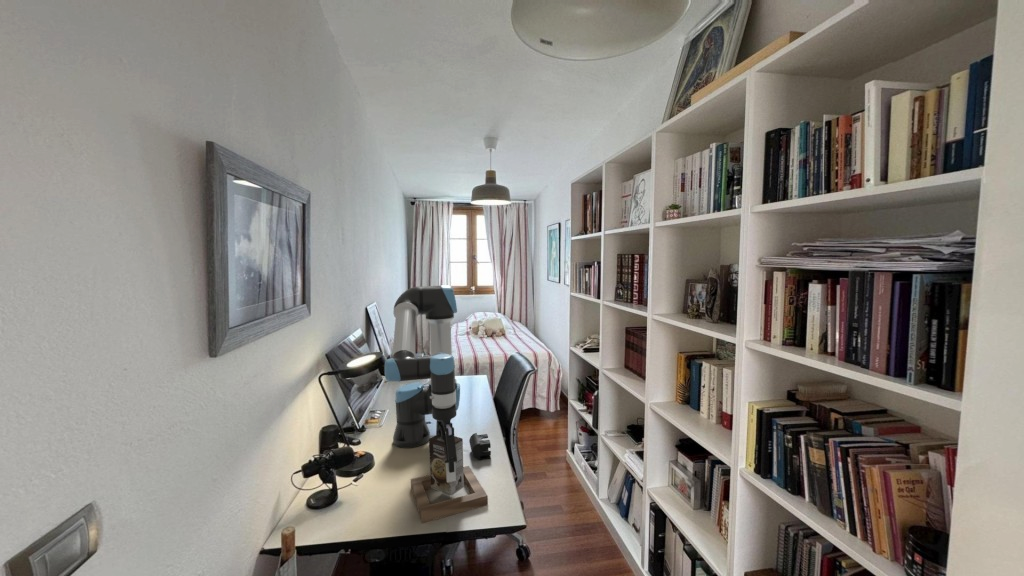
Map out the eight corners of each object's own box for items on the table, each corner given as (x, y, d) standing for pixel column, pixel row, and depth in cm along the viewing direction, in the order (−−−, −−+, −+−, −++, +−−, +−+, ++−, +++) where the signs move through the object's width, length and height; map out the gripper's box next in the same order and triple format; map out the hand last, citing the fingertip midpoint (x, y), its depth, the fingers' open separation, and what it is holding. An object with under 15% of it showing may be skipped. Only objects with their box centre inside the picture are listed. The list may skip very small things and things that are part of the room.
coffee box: (430, 488, 129) (427, 438, 128) (444, 478, 135) (442, 431, 134) (451, 496, 124) (448, 445, 123) (465, 486, 130) (463, 437, 128)
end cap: (469, 450, 161) (468, 433, 161) (487, 447, 163) (486, 431, 162) (472, 462, 151) (471, 444, 151) (491, 459, 153) (490, 442, 152)
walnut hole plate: (411, 487, 135) (410, 479, 135) (469, 473, 143) (468, 465, 143) (422, 523, 117) (421, 513, 117) (487, 505, 124) (487, 495, 124)
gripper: (425, 395, 137) (428, 459, 138) (440, 419, 116) (443, 494, 117) (447, 392, 140) (449, 454, 141) (465, 414, 118) (468, 487, 120)
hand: (446, 472), depth 129 cm, fingers closed on coffee box, 11 cm apart
